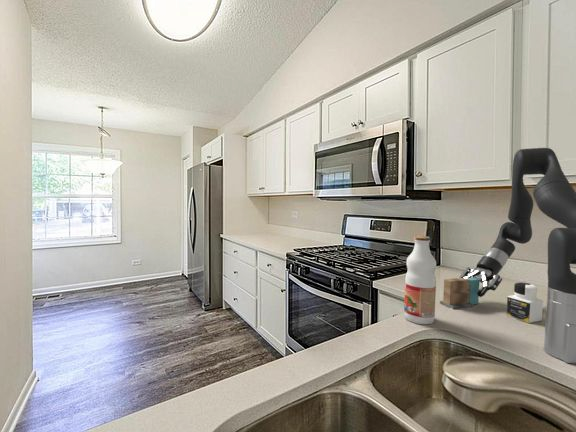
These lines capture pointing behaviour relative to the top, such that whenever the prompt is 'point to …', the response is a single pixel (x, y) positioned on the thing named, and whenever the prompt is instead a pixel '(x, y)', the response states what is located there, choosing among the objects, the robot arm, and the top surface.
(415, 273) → the fruit juice
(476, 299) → the teal block
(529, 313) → the medicine bottle
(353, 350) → the top surface
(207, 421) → the top surface
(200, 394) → the top surface
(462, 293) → the brown block
